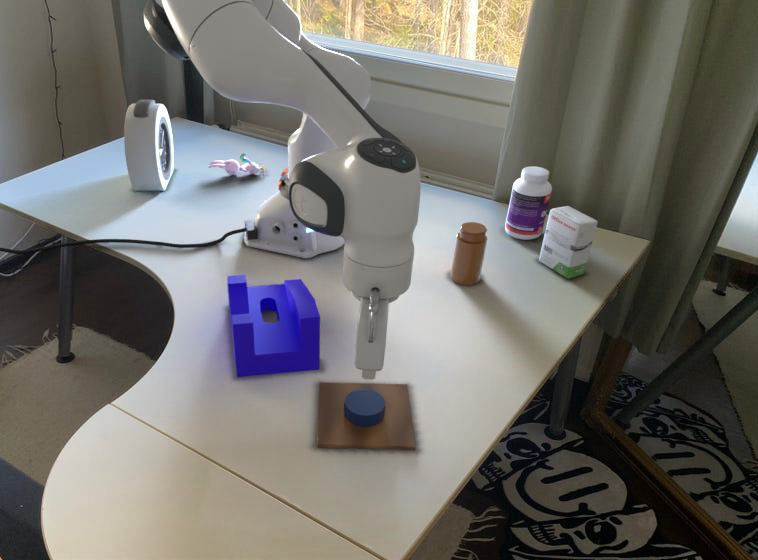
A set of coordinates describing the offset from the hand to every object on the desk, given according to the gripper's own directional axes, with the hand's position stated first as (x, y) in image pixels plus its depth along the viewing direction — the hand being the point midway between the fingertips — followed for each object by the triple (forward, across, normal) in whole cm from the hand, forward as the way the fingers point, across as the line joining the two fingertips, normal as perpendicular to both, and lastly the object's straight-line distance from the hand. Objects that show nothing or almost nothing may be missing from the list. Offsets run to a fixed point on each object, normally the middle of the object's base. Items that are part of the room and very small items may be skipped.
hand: (370, 355), depth 94 cm
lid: (+9, 0, 0) cm, 9 cm away
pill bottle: (+12, +65, -31) cm, 73 cm away
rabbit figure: (+12, +89, +40) cm, 98 cm away
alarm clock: (+12, +83, +60) cm, 103 cm away
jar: (+11, +44, -17) cm, 48 cm away
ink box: (+12, +50, -37) cm, 63 cm away
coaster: (+12, 0, 0) cm, 12 cm away
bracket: (+12, +18, +18) cm, 28 cm away
